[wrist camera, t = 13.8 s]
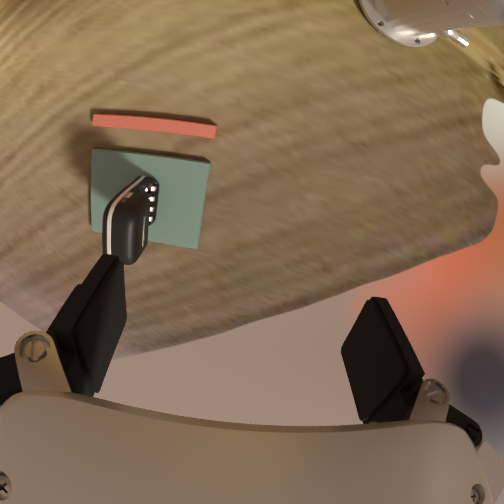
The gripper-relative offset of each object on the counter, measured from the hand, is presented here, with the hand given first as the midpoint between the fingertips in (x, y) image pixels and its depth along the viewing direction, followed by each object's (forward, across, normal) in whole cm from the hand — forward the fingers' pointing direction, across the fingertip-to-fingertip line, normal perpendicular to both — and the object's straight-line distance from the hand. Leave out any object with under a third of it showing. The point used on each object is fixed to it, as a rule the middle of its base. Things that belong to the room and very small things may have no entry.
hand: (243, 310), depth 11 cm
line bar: (+28, +12, -2) cm, 31 cm away
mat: (+28, +12, +8) cm, 32 cm away
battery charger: (+28, +11, +8) cm, 31 cm away
